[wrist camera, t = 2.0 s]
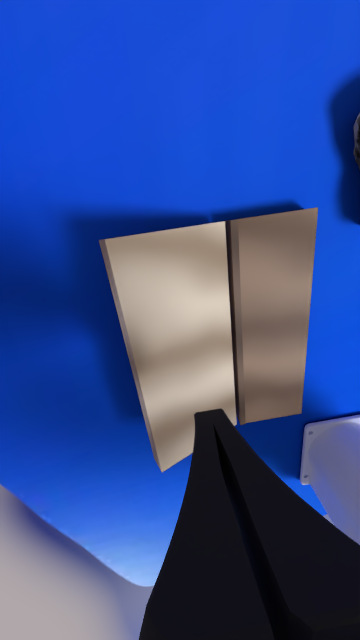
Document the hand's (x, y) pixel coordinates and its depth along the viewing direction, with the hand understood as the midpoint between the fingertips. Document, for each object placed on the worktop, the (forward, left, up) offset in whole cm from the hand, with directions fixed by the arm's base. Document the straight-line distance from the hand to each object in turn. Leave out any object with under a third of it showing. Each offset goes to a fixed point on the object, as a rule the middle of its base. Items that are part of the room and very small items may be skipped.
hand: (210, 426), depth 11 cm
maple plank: (0, +1, -8) cm, 8 cm away
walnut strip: (0, -7, -9) cm, 12 cm away
